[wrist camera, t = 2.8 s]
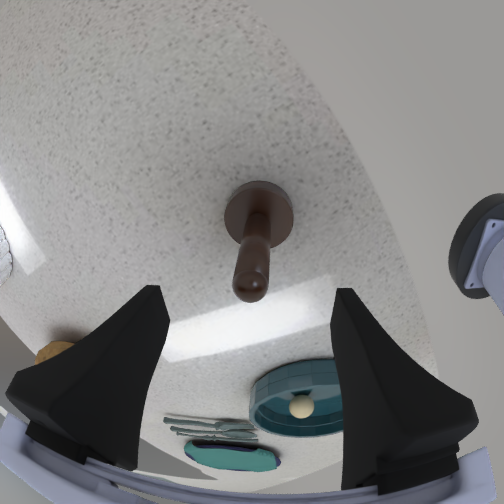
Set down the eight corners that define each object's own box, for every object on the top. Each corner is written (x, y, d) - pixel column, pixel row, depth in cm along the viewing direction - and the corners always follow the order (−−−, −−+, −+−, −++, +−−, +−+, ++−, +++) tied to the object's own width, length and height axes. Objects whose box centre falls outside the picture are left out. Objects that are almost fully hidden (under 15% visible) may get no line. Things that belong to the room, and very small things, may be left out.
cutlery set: (200, 460, 54) (198, 468, 52) (152, 409, 38) (149, 421, 36) (282, 465, 52) (282, 473, 50) (278, 419, 36) (277, 432, 34)
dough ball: (315, 390, 30) (316, 411, 27) (312, 401, 32) (313, 421, 29) (289, 390, 30) (289, 412, 28) (288, 401, 32) (288, 422, 29)
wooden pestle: (292, 180, 18) (304, 252, 11) (291, 239, 20) (298, 331, 13) (225, 181, 18) (189, 251, 11) (230, 239, 21) (205, 329, 13)
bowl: (389, 352, 26) (397, 378, 24) (357, 413, 34) (359, 433, 32) (248, 356, 28) (245, 385, 25) (253, 416, 36) (252, 437, 33)
